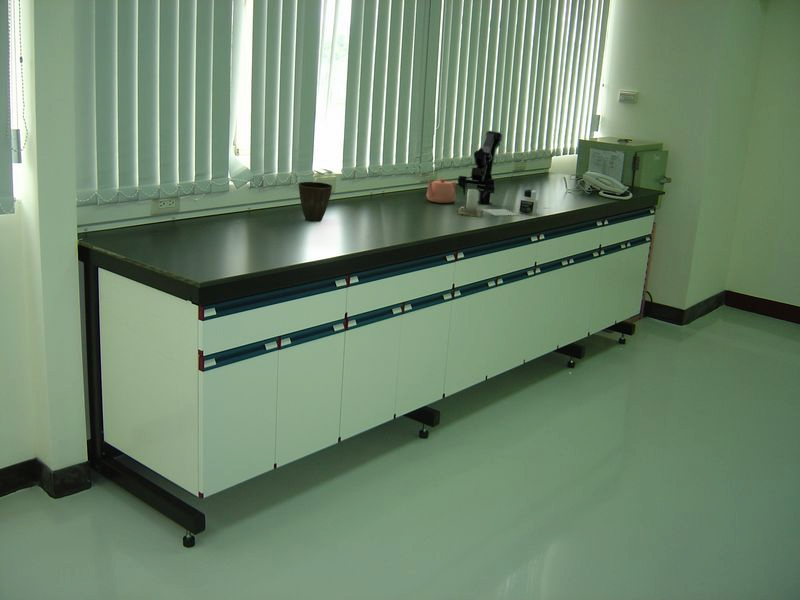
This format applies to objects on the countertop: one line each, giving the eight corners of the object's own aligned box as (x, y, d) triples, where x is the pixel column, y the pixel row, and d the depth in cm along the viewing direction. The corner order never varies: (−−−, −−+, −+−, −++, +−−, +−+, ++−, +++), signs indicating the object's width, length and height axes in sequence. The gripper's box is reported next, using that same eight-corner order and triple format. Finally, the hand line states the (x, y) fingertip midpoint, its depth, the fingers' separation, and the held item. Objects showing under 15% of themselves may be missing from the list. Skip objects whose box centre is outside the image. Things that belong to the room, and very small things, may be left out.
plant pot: (328, 217, 391) (330, 182, 386) (331, 224, 377) (333, 188, 372) (296, 215, 388) (297, 181, 384) (298, 222, 374) (299, 186, 370)
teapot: (434, 205, 438) (436, 182, 435) (414, 200, 449) (416, 177, 445) (464, 202, 453) (466, 179, 449) (443, 197, 463) (445, 175, 460)
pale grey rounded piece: (466, 212, 428) (469, 188, 424) (477, 213, 427) (479, 189, 423) (463, 214, 421) (465, 190, 417) (474, 216, 419) (476, 191, 416)
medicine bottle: (519, 213, 436) (521, 189, 432) (523, 211, 442) (526, 188, 438) (532, 215, 433) (535, 191, 429) (536, 213, 439) (539, 190, 435)
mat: (481, 210, 436) (481, 209, 435) (505, 210, 441) (505, 209, 441) (494, 215, 423) (494, 215, 423) (518, 215, 429) (518, 214, 429)
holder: (461, 211, 428) (461, 206, 428) (482, 214, 426) (483, 209, 425) (457, 214, 421) (458, 209, 420) (479, 216, 418) (479, 211, 418)
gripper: (460, 159, 426) (453, 184, 419) (497, 163, 421) (490, 188, 414) (462, 173, 435) (455, 197, 428) (498, 177, 430) (491, 202, 423)
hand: (472, 196), depth 423 cm, fingers open, 9 cm apart
